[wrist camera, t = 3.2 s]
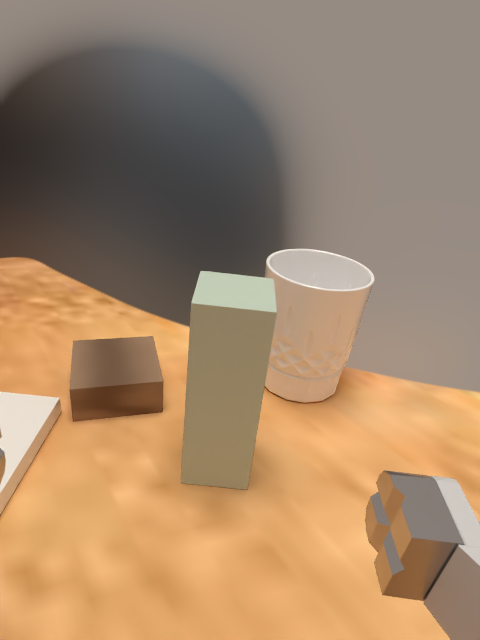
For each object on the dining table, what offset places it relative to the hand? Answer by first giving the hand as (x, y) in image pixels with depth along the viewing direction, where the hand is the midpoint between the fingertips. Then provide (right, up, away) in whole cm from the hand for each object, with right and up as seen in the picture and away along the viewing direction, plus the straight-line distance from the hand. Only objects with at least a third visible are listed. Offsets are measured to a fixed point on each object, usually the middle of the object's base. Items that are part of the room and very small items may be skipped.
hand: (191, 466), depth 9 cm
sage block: (0, -6, +18) cm, 19 cm away
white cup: (+6, -2, +27) cm, 28 cm away
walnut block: (-8, -2, +24) cm, 25 cm away
